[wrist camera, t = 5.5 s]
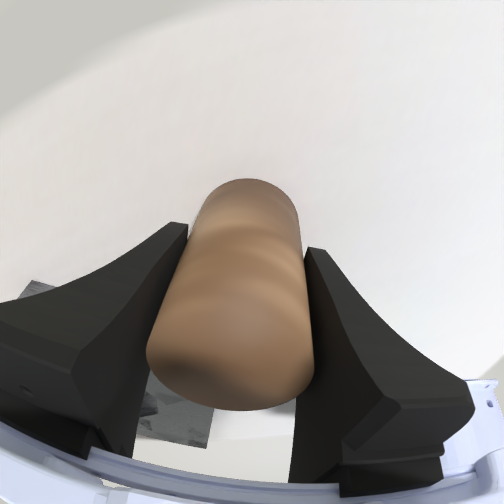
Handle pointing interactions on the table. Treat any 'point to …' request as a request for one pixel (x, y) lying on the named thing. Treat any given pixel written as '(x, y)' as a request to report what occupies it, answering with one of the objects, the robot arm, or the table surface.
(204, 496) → the robot arm
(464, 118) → the table surface
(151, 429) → the socket block
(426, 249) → the table surface
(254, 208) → the walnut peg
